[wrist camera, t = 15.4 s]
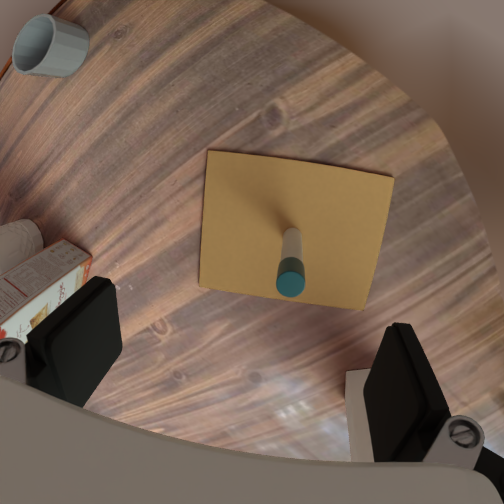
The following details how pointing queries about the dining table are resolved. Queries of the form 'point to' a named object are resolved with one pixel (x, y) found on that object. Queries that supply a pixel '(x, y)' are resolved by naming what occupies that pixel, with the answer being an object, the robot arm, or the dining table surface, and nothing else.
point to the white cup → (18, 243)
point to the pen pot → (50, 47)
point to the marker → (291, 265)
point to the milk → (357, 416)
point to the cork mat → (292, 226)
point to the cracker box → (40, 287)
